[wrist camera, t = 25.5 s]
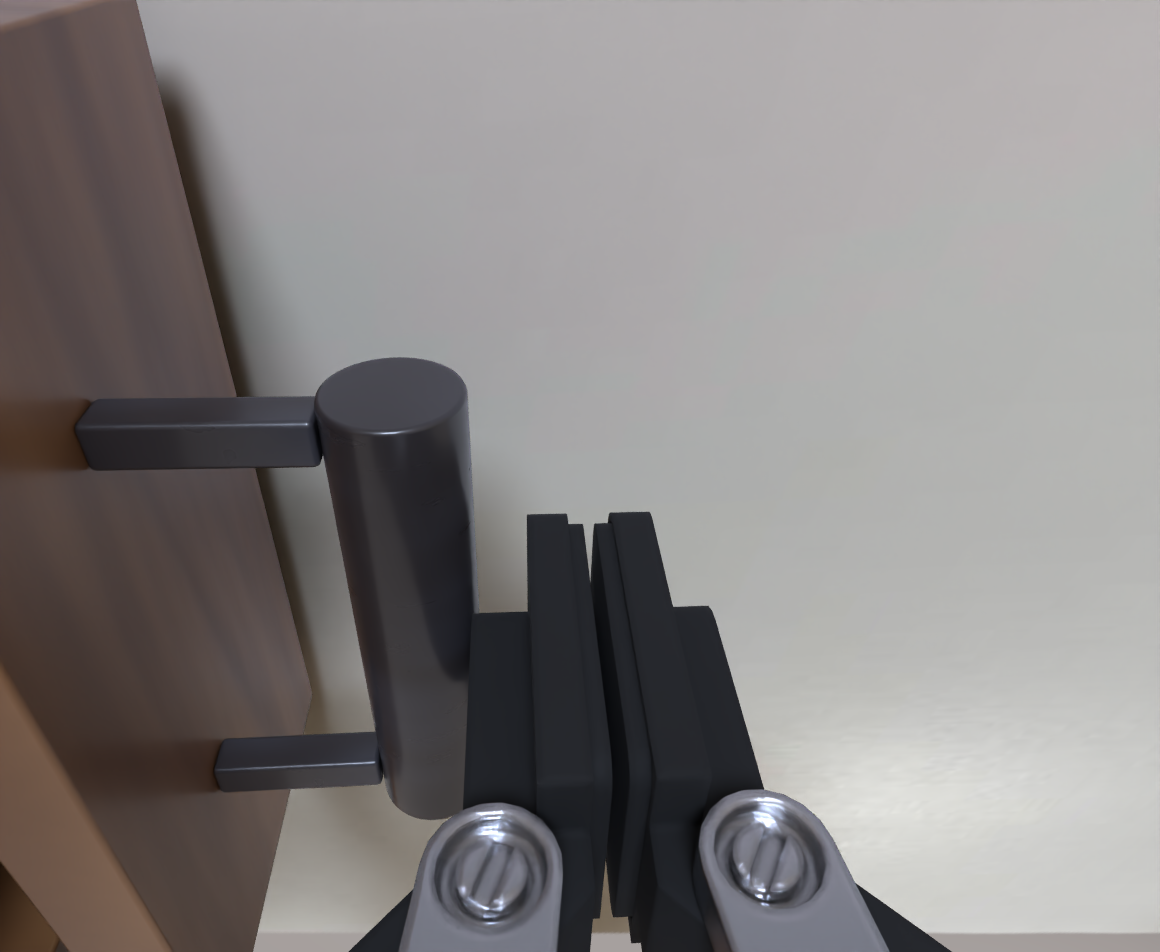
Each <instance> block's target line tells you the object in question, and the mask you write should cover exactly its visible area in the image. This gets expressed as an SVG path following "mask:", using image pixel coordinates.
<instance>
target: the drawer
mask: <svg viewBox="0 0 1160 952" xmlns="http://www.w3.org/2000/svg"><path fill="white" fill-rule="evenodd" d="M322 456H324V461H325V467H326V472H327V477H328V482H329V488H330V493H331V498H332V504H333V509H334V514H335V519H336V525H337V530H338V535H339V541H340V546H341V551H342V557H343V562H344V567H345V572H346V578H347V583H348V588H349V594H350V599H351V604H352V609H353V615H354V620H355V625H356V631H357V636H358V641H359V646H360V652H361V657H362V662H363V668H364V673H365V678H366V683H367V689H368V694H369V699H370V705H371V710H372V715H373V720H374V726H375V731H376V732H358V733H336V734H314V735H303V733H304V728H305V724H306V720H307V716H308V711H309V707H310V703H311V698H312V690H311V687H310V683H309V679H308V675H307V671H306V667H305V663H304V659H303V655H302V651H301V647H300V643H299V639H298V635H297V631H296V628H295V624H294V620H293V616H292V612H291V608H290V604H289V600H288V596H287V592H286V588H285V584H284V580H283V576H282V573H281V569H280V565H279V561H278V557H277V553H276V549H275V545H274V541H273V537H272V533H271V529H270V525H269V521H268V517H267V514H266V510H265V506H264V502H263V498H262V494H261V490H260V486H259V482H258V478H257V474H256V470H255V468H289V467H316V466H318V465H320V462H321V459H322ZM473 613H480V612H479V594H478V576H477V558H476V539H475V521H474V503H473V485H472V467H471V449H470V431H469V412H468V394H467V388H466V385H465V383H464V382H463V380H462V378H461V377H460V376H459V375H458V374H457V373H456V372H454V371H453V370H451V369H450V368H448V367H446V366H444V365H441V364H439V363H436V362H432V361H428V360H423V359H417V358H401V357H398V358H382V359H375V360H370V361H365V362H361V363H358V364H355V365H352V366H349V367H347V368H344V369H342V370H340V371H338V372H337V373H335V374H333V375H332V376H330V377H329V378H328V379H326V380H325V381H324V382H323V383H322V385H321V386H320V387H319V389H318V391H317V393H316V396H302V397H237V396H236V392H235V388H234V384H233V380H232V376H231V372H230V368H229V364H228V360H227V356H226V352H225V348H224V344H223V340H222V337H221V333H220V329H219V325H218V321H217V317H216V313H215V309H214V305H213V301H212V297H211V293H210V289H209V285H208V281H207V278H206V274H205V270H204V266H203V262H202V258H201V254H200V250H199V246H198V242H197V238H196V234H195V230H194V226H193V223H192V219H191V215H190V211H189V207H188V203H187V199H186V195H185V191H184V187H183V183H182V179H181V175H180V171H179V167H178V164H177V160H176V156H175V152H174V148H173V144H172V140H171V136H170V132H169V128H168V124H167V120H166V116H165V112H164V108H163V105H162V101H161V97H160V93H159V89H158V85H157V81H156V77H155V73H154V69H153V65H152V61H151V57H150V53H149V49H148V46H147V42H146V38H145V34H144V30H143V26H142V22H141V18H140V14H139V10H138V6H137V2H136V0H0V952H253V949H254V944H255V940H256V936H257V932H258V927H259V923H260V919H261V914H262V910H263V906H264V901H265V897H266V893H267V888H268V884H269V880H270V875H271V871H272V867H273V862H274V858H275V854H276V849H277V845H278V841H279V837H280V832H281V828H282V824H283V819H284V815H285V811H286V806H287V802H288V798H289V793H290V789H305V788H325V787H344V786H364V785H378V784H380V783H381V781H382V779H383V773H384V779H385V784H386V788H387V792H388V794H389V797H390V798H391V800H392V802H393V803H394V804H395V805H396V806H397V807H398V808H399V809H400V810H401V811H403V812H405V813H406V814H408V815H410V816H412V817H415V818H419V819H425V820H438V819H444V818H448V817H451V816H453V815H456V814H457V813H458V812H460V811H462V810H463V795H464V773H465V750H466V728H467V706H468V684H469V662H470V640H471V621H472V614H473Z"/></svg>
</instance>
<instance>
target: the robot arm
mask: <svg viewBox="0 0 1160 952" xmlns="http://www.w3.org/2000/svg"><path fill="white" fill-rule="evenodd" d="M527 582H528V612H502V613H473V614H472V621H471V640H470V662H469V684H468V706H467V728H466V750H465V773H464V795H463V810H462V811H460V812H458V813H457V814H456V815H454V816H453V817H451V818H450V819H449V820H447V821H446V822H444V823H443V824H442V825H441V826H440V827H439V829H438V830H437V831H436V832H435V834H434V835H433V836H432V837H431V839H430V840H429V841H428V843H427V846H426V848H425V851H424V853H423V856H422V858H421V861H420V864H419V868H418V872H417V876H416V880H415V884H414V889H413V890H412V891H411V892H410V893H409V894H408V895H407V896H406V897H405V898H404V899H403V900H401V901H400V902H399V903H398V904H397V905H396V906H395V907H394V908H393V909H392V910H391V911H390V912H389V913H388V914H387V915H386V916H385V917H384V918H383V919H382V920H381V921H380V922H379V923H378V924H377V925H376V926H375V927H374V928H373V929H371V930H370V931H369V932H368V933H367V934H366V935H365V936H364V937H363V938H362V939H361V940H360V941H359V942H358V943H357V944H356V945H355V946H354V947H353V948H352V949H351V950H350V951H349V952H590V945H591V933H592V922H593V919H597V918H600V910H601V900H602V890H603V880H604V870H605V860H606V865H607V874H608V884H609V893H610V903H611V910H612V915H613V917H628V920H629V928H630V936H631V943H641V946H642V952H951V951H950V950H949V949H947V948H946V947H944V946H943V945H942V944H940V943H938V942H937V941H936V940H935V939H933V938H932V937H930V936H929V935H928V934H926V933H925V932H923V931H922V930H921V929H919V928H918V927H916V926H915V925H914V924H912V923H911V922H909V921H908V920H907V919H905V918H904V917H902V916H901V915H900V914H898V913H897V912H895V911H894V910H893V909H891V908H890V907H888V906H887V905H886V904H884V903H883V902H881V901H880V900H878V899H877V898H876V897H874V896H873V895H871V894H870V893H869V892H867V891H866V890H864V889H863V888H862V887H860V886H859V885H857V884H856V883H855V882H854V880H853V878H852V876H851V874H850V872H849V870H848V868H847V866H846V864H845V862H844V860H843V858H842V856H841V854H840V852H839V850H838V848H837V846H836V844H835V842H834V840H833V838H832V837H831V835H830V834H829V832H828V831H827V829H826V828H825V826H824V825H823V823H822V822H821V820H820V819H819V818H817V817H816V816H815V815H814V814H813V813H812V812H811V811H810V810H808V809H807V808H806V807H805V806H804V805H803V804H801V803H799V802H797V801H795V800H793V799H791V798H789V797H787V796H786V795H784V794H780V793H776V792H772V791H767V790H764V787H763V784H762V780H761V777H760V773H759V770H758V766H757V763H756V759H755V756H754V752H753V749H752V745H751V742H750V738H749V735H748V731H747V728H746V724H745V721H744V718H743V714H742V711H741V707H740V704H739V700H738V697H737V693H736V690H735V686H734V683H733V679H732V676H731V672H730V669H729V665H728V662H727V658H726V655H725V651H724V648H723V645H722V641H721V638H720V634H719V631H718V627H717V624H716V620H715V618H714V615H713V612H712V610H711V609H710V608H709V606H688V607H673V605H672V601H671V597H670V592H669V588H668V584H667V580H666V575H665V571H664V567H663V562H662V558H661V554H660V550H659V545H658V541H657V537H656V532H655V528H654V524H653V520H652V516H651V514H650V512H620V513H610V514H609V517H608V523H601V524H594V531H593V548H592V565H591V583H590V577H589V569H588V561H587V553H586V545H585V536H584V529H583V524H568V518H567V514H531V515H527Z"/></svg>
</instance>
